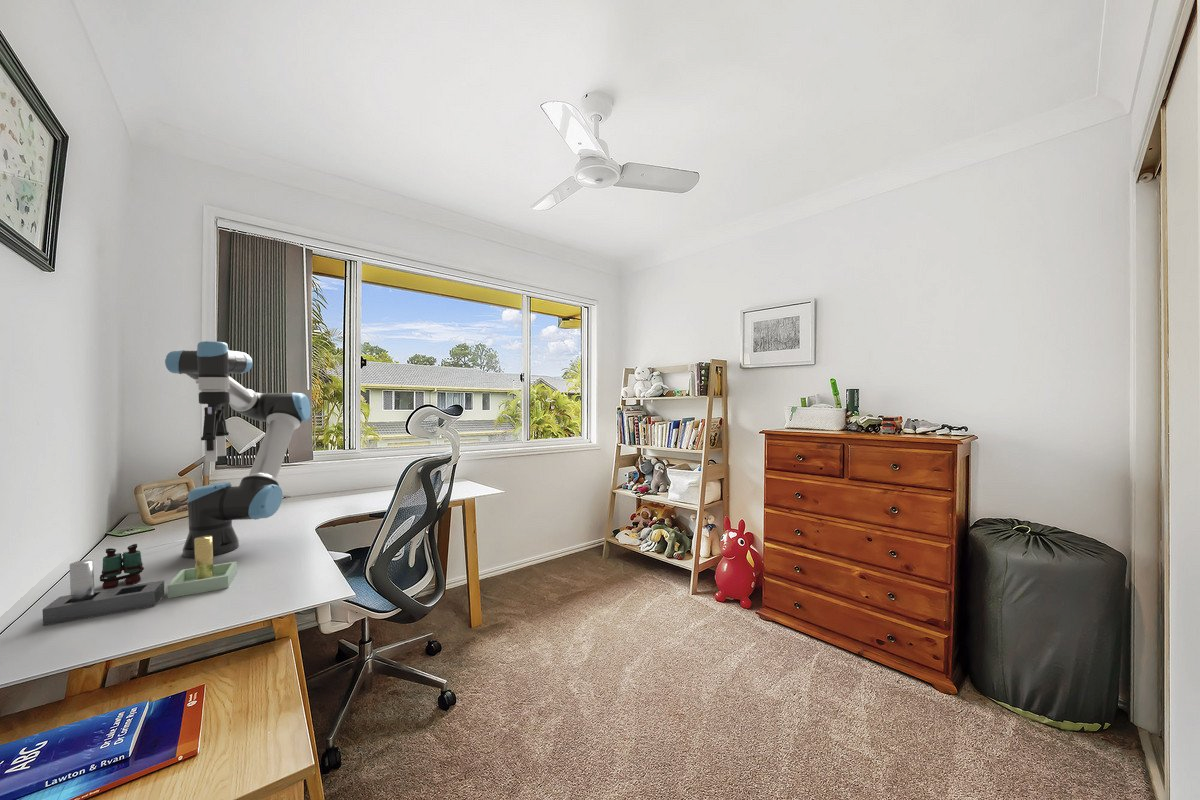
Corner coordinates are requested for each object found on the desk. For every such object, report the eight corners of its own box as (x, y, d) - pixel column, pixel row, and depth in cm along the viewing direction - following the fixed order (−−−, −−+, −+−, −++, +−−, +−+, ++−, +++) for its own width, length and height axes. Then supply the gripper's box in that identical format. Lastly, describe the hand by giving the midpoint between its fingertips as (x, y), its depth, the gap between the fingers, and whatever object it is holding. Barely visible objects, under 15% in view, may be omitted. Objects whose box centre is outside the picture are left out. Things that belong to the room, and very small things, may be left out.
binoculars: (98, 559, 129) (100, 547, 136) (99, 596, 130) (101, 582, 137) (143, 551, 135) (143, 540, 142) (144, 586, 136) (144, 573, 144)
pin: (76, 612, 119) (74, 561, 119) (98, 608, 121) (96, 558, 121) (68, 618, 116) (66, 566, 115) (90, 614, 118) (89, 563, 117)
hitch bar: (60, 612, 119) (59, 596, 119) (164, 594, 129) (164, 580, 129) (43, 625, 112) (42, 609, 112) (154, 606, 122) (154, 590, 122)
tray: (181, 581, 138) (181, 569, 138) (236, 572, 144) (236, 561, 144) (167, 598, 127) (167, 585, 127) (228, 587, 133) (228, 575, 133)
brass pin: (197, 581, 136) (196, 536, 136) (215, 578, 138) (213, 534, 138) (193, 586, 133) (192, 540, 132) (211, 583, 135) (210, 538, 134)
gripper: (208, 391, 156) (210, 454, 156) (187, 391, 134) (190, 465, 135) (236, 390, 159) (238, 453, 160) (220, 391, 138) (223, 462, 138)
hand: (216, 458), depth 147 cm, fingers open, 13 cm apart
